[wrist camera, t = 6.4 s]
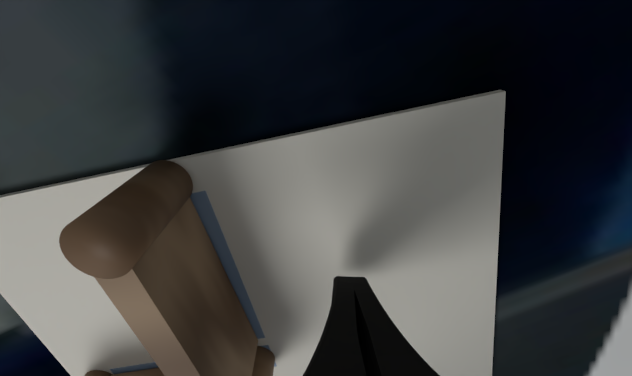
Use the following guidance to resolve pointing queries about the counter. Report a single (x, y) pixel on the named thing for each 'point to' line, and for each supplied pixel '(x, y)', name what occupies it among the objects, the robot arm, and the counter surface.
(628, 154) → the counter surface
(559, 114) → the counter surface
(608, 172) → the counter surface
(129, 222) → the swing rail
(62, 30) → the counter surface
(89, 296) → the board
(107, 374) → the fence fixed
